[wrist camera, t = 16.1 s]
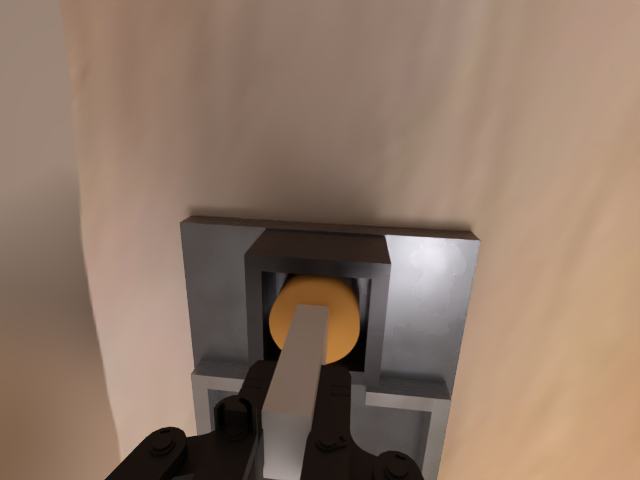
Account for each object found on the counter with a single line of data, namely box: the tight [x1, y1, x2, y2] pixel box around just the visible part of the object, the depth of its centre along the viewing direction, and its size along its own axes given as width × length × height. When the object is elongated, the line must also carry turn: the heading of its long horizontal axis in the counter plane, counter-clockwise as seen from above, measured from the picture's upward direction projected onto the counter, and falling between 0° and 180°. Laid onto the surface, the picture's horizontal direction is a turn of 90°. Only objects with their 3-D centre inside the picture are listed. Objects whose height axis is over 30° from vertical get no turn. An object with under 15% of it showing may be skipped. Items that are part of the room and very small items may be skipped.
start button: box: [269, 273, 360, 364], centre depth 19 cm, size 4×4×3 cm
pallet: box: [180, 216, 480, 480], centre depth 22 cm, size 21×17×6 cm
